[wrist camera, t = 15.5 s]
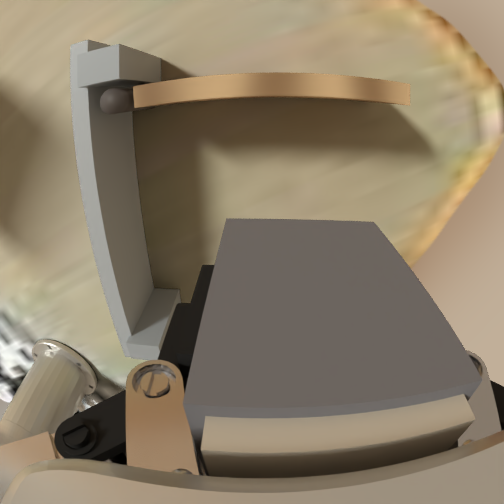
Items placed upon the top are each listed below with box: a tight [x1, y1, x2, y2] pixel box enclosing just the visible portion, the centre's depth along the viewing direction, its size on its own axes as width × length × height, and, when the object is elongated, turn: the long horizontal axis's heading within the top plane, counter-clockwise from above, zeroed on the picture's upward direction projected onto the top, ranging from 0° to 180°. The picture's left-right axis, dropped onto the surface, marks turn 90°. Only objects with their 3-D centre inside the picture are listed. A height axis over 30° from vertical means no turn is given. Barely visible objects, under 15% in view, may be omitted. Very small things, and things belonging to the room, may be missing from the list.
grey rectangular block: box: [183, 219, 483, 478], centre depth 8 cm, size 5×5×8 cm
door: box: [100, 73, 410, 114], centre depth 20 cm, size 20×2×8 cm, turn 92°
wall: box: [70, 40, 181, 360], centre depth 24 cm, size 28×4×9 cm, turn 0°
